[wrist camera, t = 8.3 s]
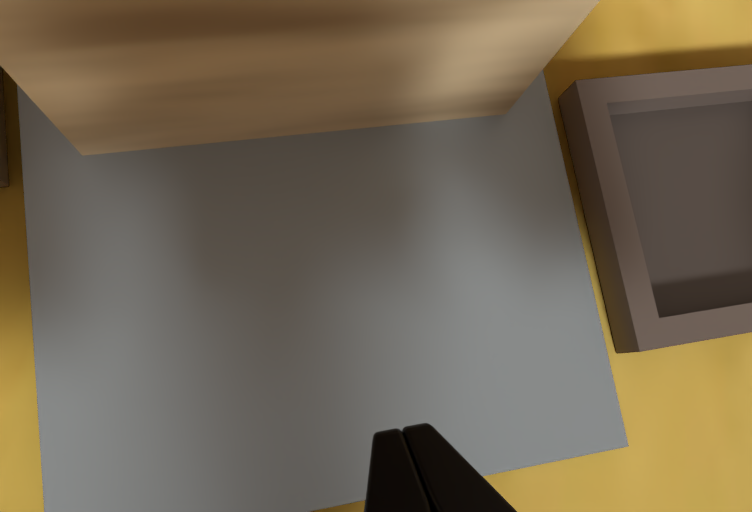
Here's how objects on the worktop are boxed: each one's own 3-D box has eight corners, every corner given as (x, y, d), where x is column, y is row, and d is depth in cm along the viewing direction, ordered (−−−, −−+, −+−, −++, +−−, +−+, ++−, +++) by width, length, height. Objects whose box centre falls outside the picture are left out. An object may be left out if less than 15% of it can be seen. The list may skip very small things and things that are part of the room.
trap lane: (873, 393, 19) (981, 396, 16) (-366, 645, 13) (-549, 720, 10) (672, -277, 23) (728, -372, 20) (-323, -296, 18) (-443, -430, 15)
